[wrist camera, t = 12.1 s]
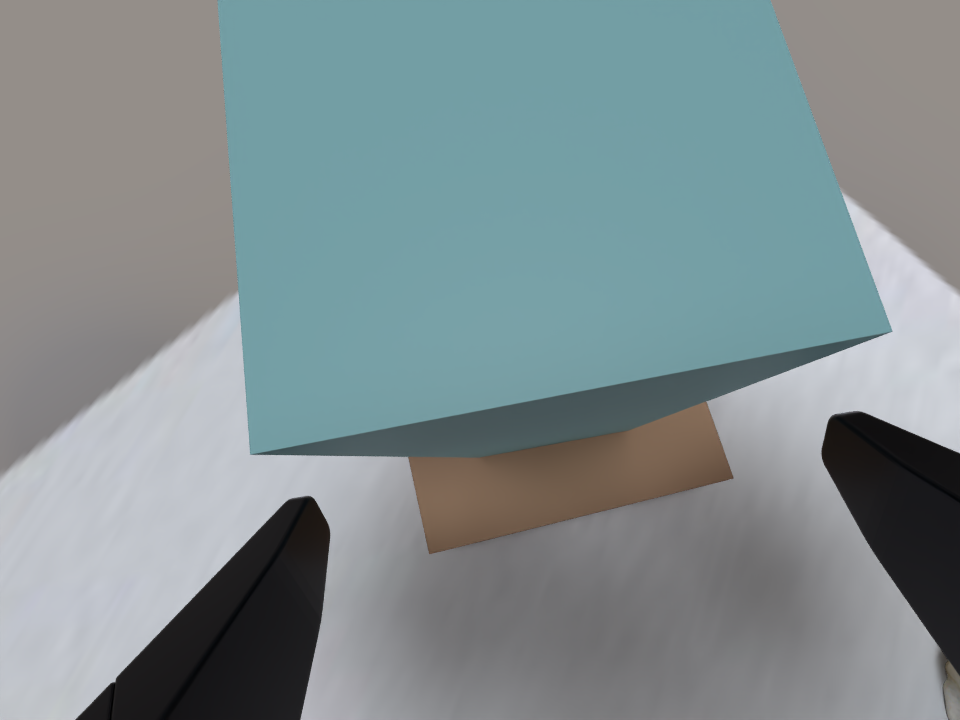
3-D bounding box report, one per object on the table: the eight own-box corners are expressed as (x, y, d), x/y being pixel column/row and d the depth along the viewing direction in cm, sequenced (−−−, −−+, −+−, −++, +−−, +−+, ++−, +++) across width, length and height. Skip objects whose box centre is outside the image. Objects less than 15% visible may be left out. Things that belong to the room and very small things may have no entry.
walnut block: (696, 474, 20) (733, 478, 16) (451, 536, 20) (429, 554, 16) (617, 247, 22) (633, 200, 18) (400, 309, 22) (369, 277, 19)
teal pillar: (628, 430, 16) (892, 330, 4) (479, 457, 17) (251, 454, 4) (594, 287, 17) (704, -174, 5) (454, 317, 18) (215, -27, 5)
